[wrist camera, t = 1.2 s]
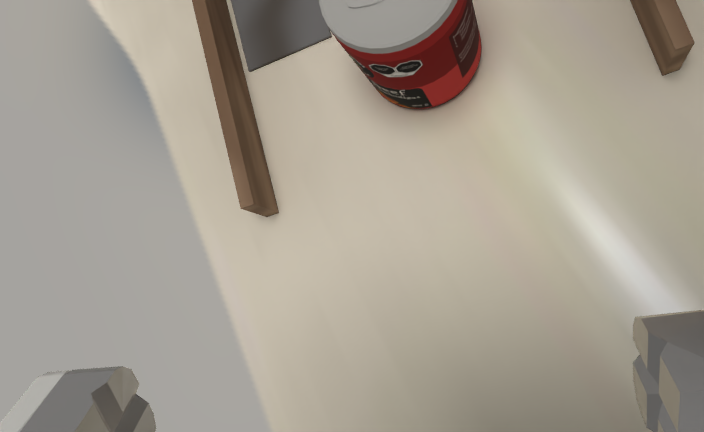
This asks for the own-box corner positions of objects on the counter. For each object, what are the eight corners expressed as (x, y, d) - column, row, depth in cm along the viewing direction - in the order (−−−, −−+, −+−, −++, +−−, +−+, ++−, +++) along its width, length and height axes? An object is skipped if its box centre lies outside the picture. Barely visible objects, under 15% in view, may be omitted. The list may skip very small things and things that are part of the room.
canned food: (351, 60, 44) (291, -16, 34) (437, -15, 43) (402, -117, 32) (413, 136, 42) (370, 79, 31) (506, 59, 40) (492, -25, 30)
